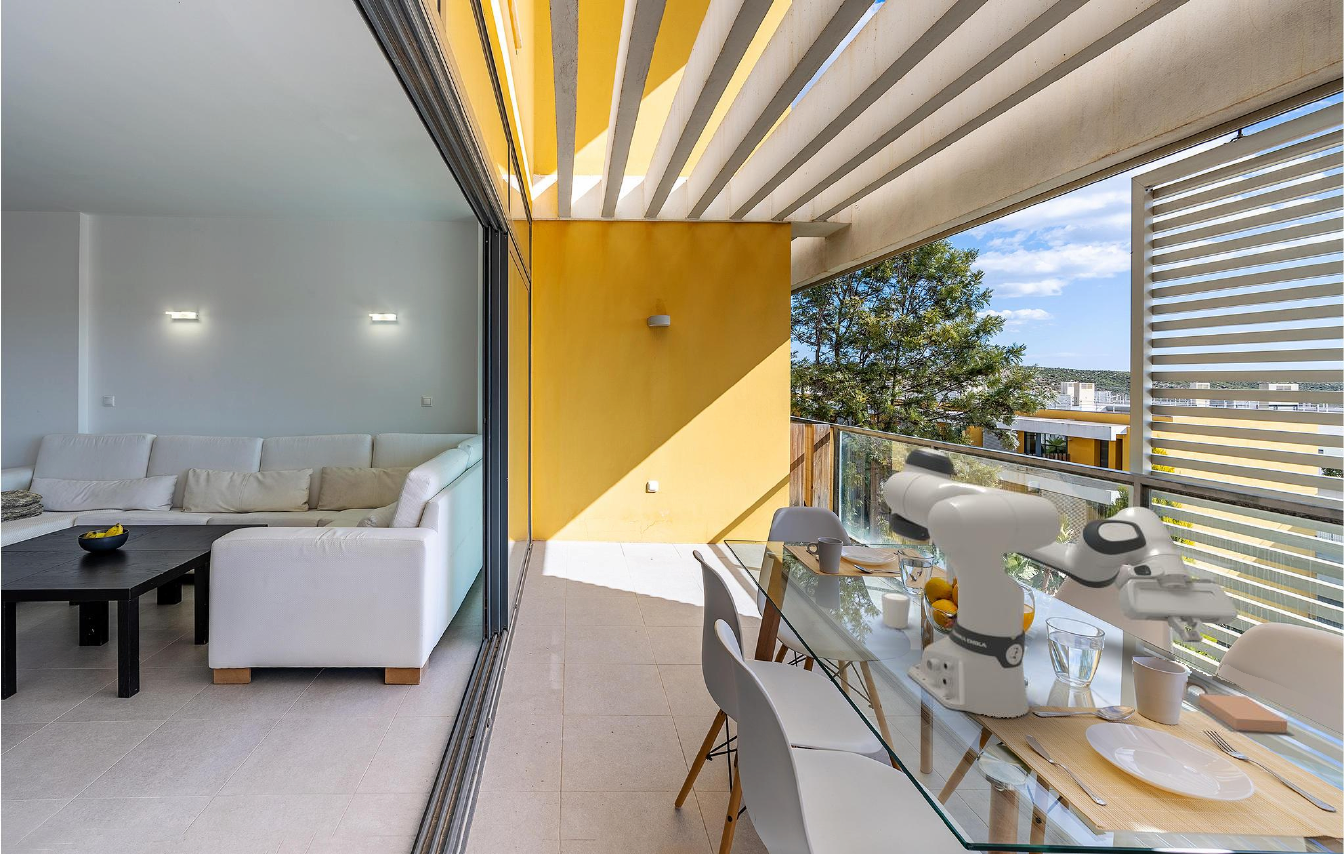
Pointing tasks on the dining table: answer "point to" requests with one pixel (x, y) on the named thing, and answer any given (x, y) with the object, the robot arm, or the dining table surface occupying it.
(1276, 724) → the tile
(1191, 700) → the mat
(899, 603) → the white cylinder
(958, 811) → the dining table surface
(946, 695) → the robot arm
